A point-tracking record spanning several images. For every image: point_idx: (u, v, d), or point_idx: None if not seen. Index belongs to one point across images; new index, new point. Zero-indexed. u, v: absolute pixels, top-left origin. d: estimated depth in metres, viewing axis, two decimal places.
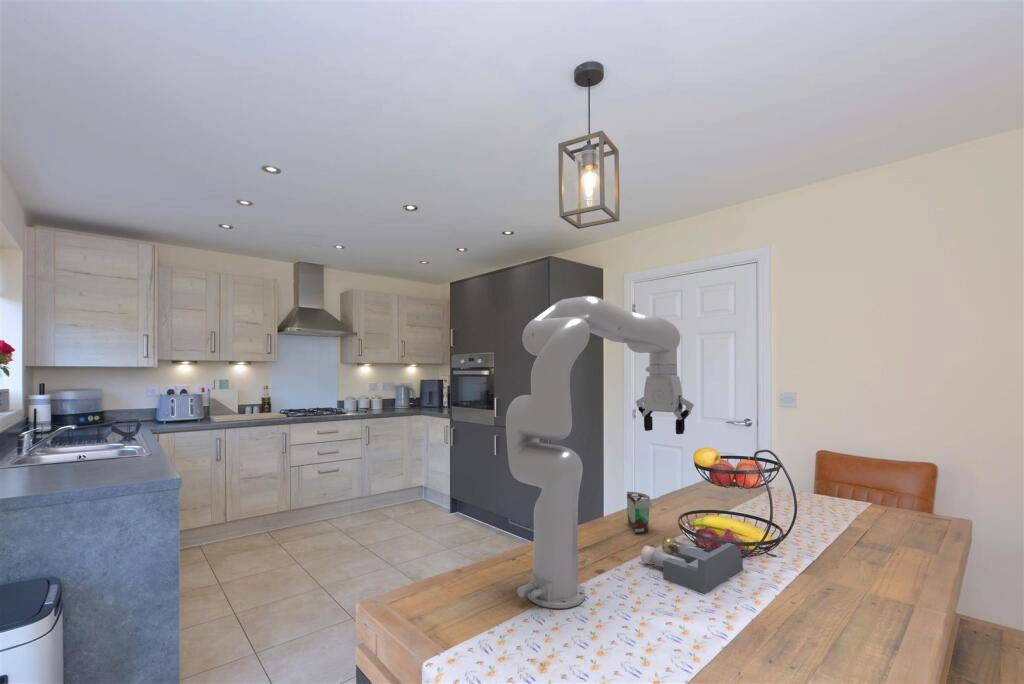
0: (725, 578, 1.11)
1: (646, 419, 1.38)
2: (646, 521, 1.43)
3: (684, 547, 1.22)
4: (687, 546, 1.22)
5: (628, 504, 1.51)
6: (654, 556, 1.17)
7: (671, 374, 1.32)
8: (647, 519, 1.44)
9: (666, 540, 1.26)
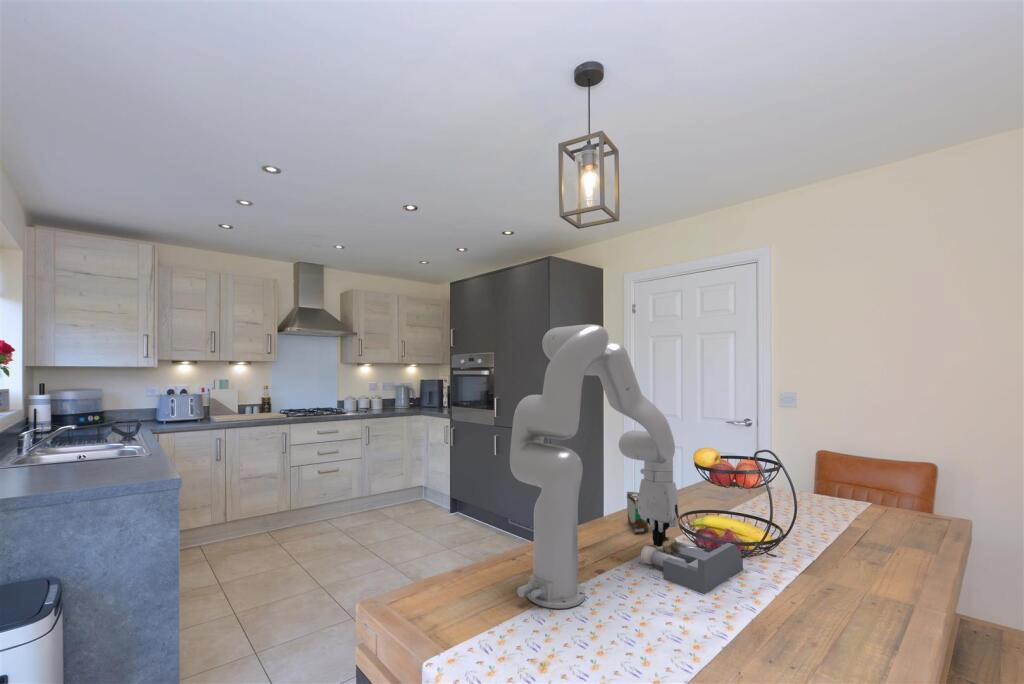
0: (725, 578, 1.11)
1: (655, 533, 1.28)
2: (646, 521, 1.43)
3: (684, 547, 1.22)
4: (687, 546, 1.22)
5: (628, 504, 1.51)
6: (654, 556, 1.17)
7: (667, 482, 1.26)
8: None
9: (666, 540, 1.26)
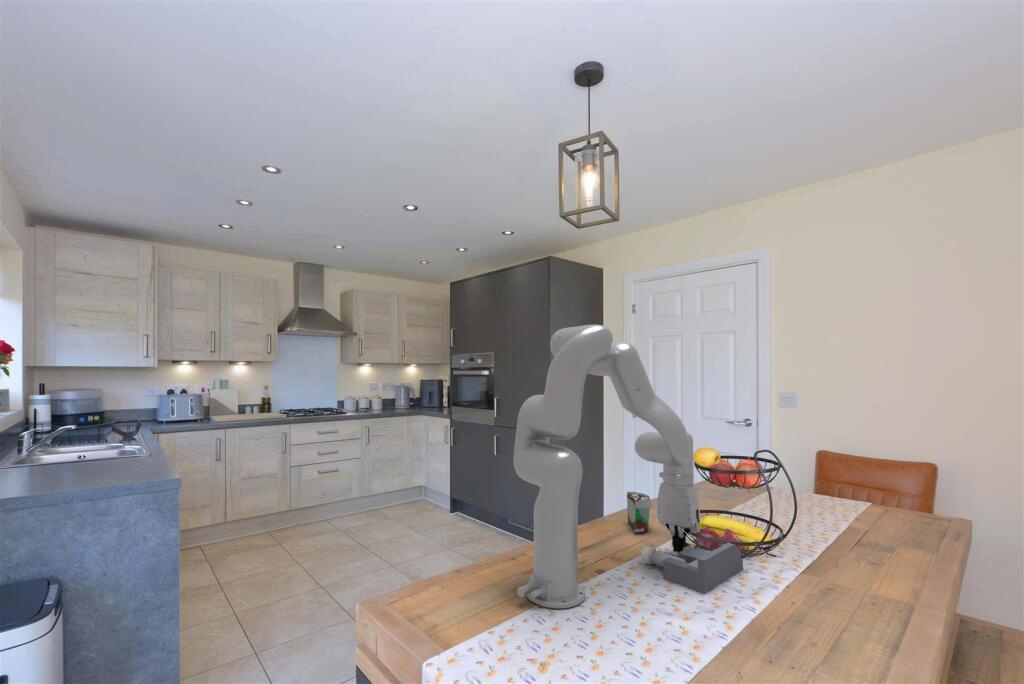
0: (725, 578, 1.11)
1: (675, 539, 1.24)
2: (646, 521, 1.43)
3: None
4: None
5: (628, 504, 1.51)
6: (654, 556, 1.17)
7: (688, 486, 1.22)
8: (647, 519, 1.44)
9: (687, 546, 1.22)
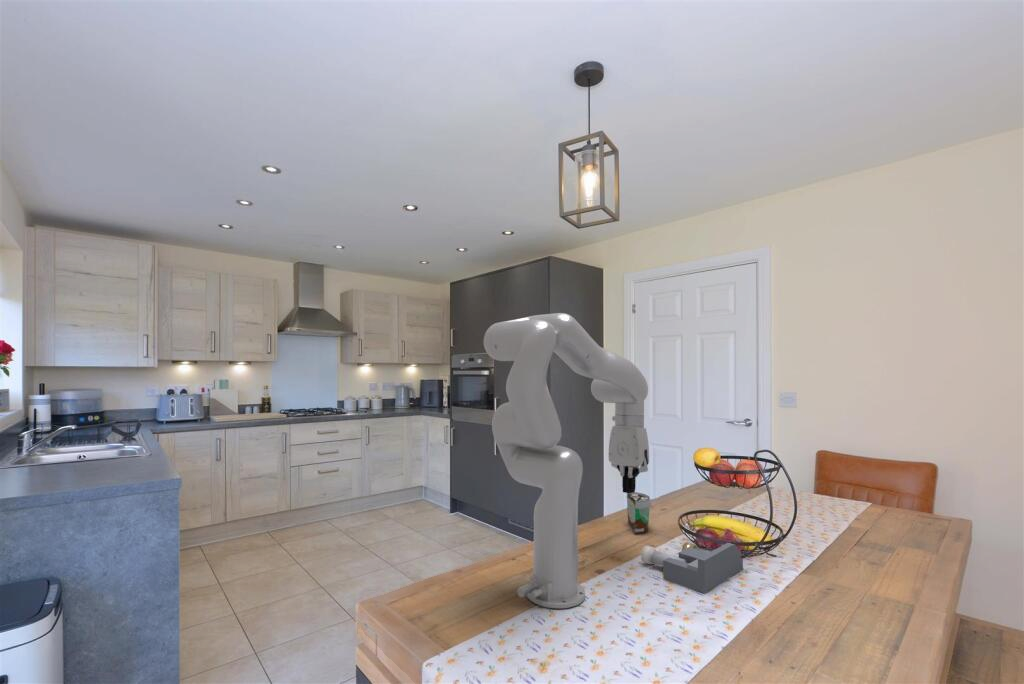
0: (725, 578, 1.11)
1: (624, 479, 1.26)
2: (646, 521, 1.43)
3: None
4: (708, 552, 1.18)
5: (628, 504, 1.51)
6: (654, 556, 1.17)
7: (637, 426, 1.24)
8: (647, 519, 1.44)
9: (686, 546, 1.22)
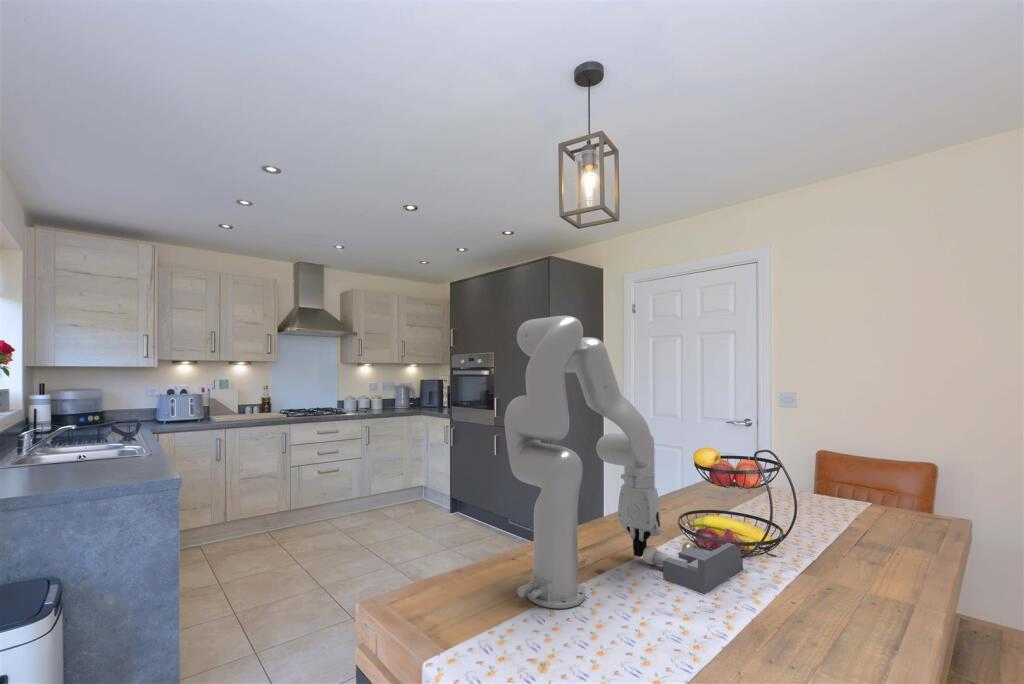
0: (725, 578, 1.11)
1: (635, 542, 1.21)
2: None
3: None
4: (708, 552, 1.18)
5: None
6: (656, 557, 1.17)
7: (648, 488, 1.19)
8: None
9: (686, 546, 1.22)
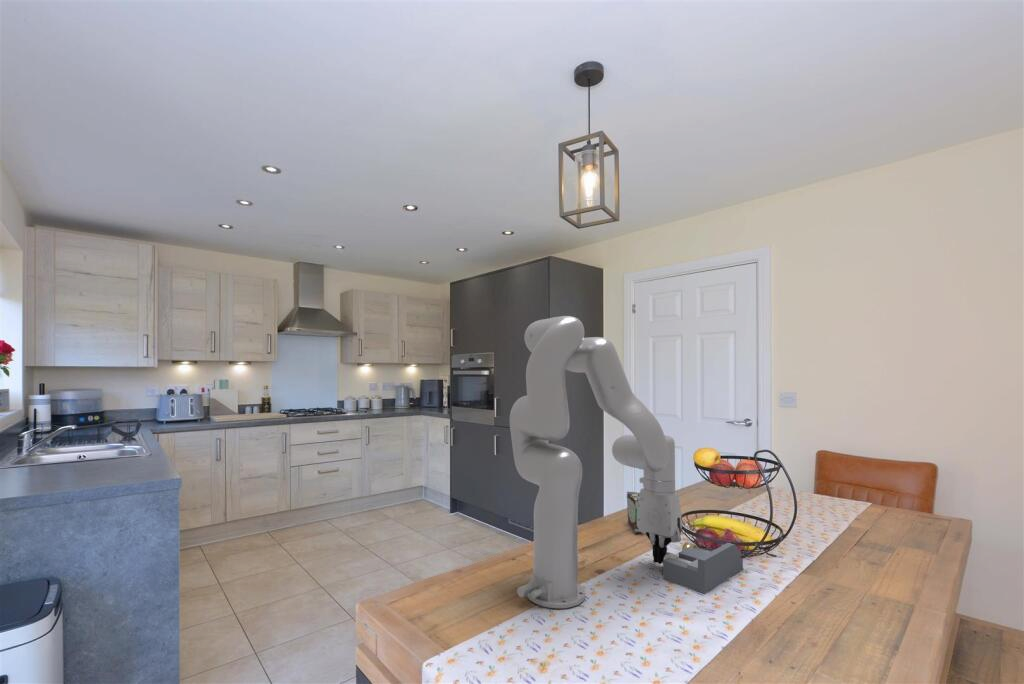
0: (725, 578, 1.11)
1: (655, 549, 1.17)
2: None
3: None
4: (708, 552, 1.18)
5: (628, 504, 1.51)
6: None
7: (668, 492, 1.15)
8: None
9: (686, 546, 1.22)
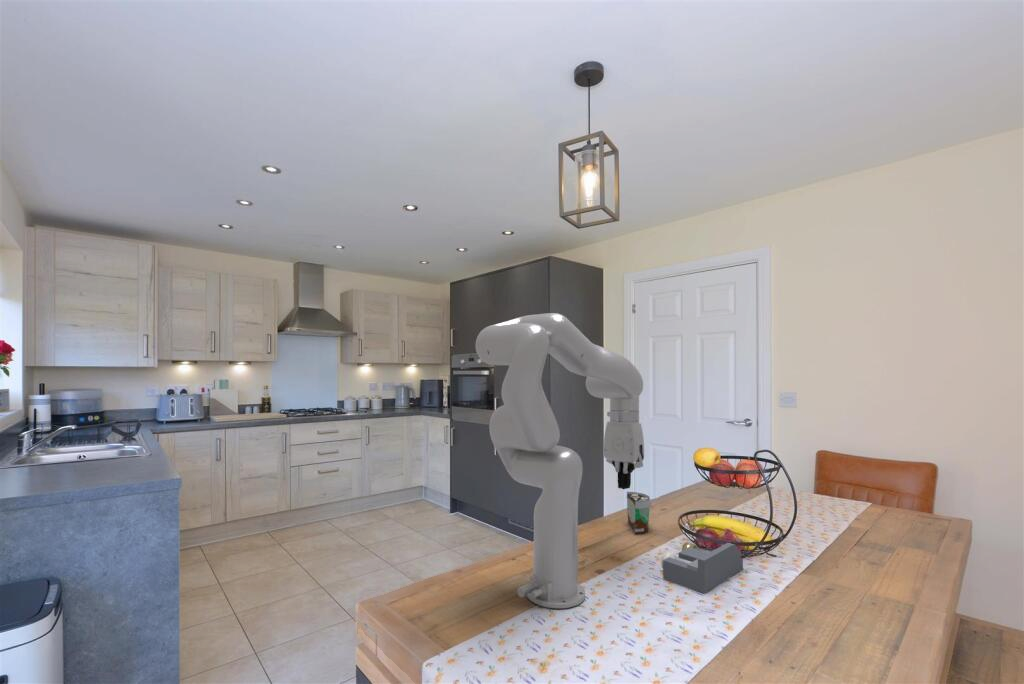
0: (725, 578, 1.11)
1: (620, 475, 1.25)
2: (646, 521, 1.43)
3: None
4: (708, 552, 1.18)
5: (628, 504, 1.51)
6: None
7: (632, 421, 1.23)
8: (647, 519, 1.44)
9: (686, 546, 1.22)
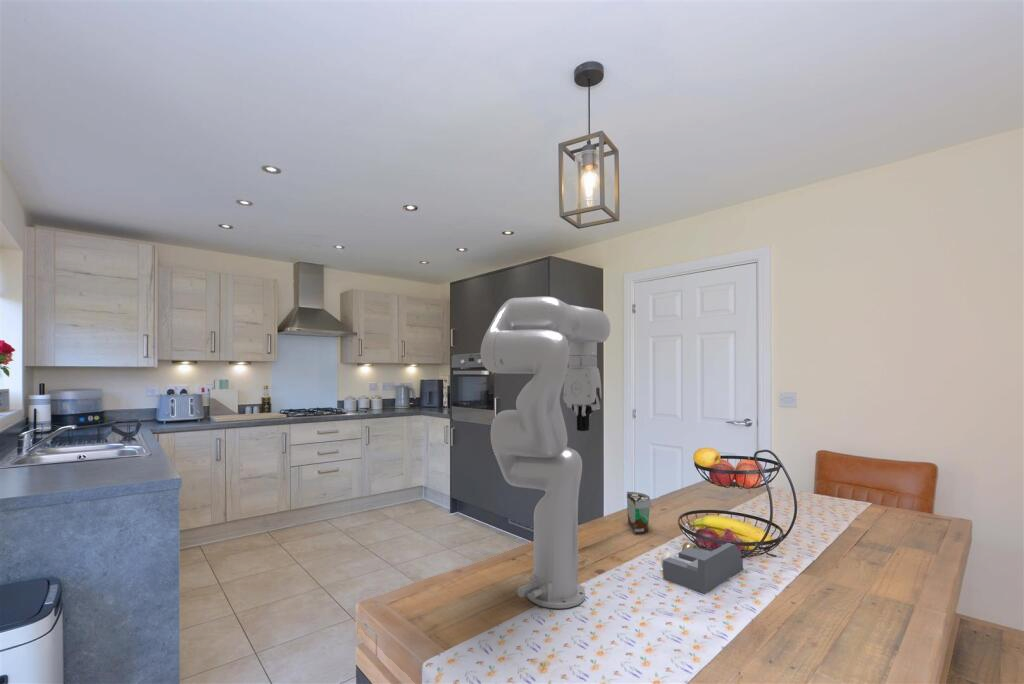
0: (725, 578, 1.11)
1: (578, 418, 1.29)
2: (646, 521, 1.43)
3: None
4: (708, 552, 1.18)
5: (628, 504, 1.51)
6: None
7: (589, 365, 1.27)
8: (647, 519, 1.44)
9: (686, 546, 1.22)
